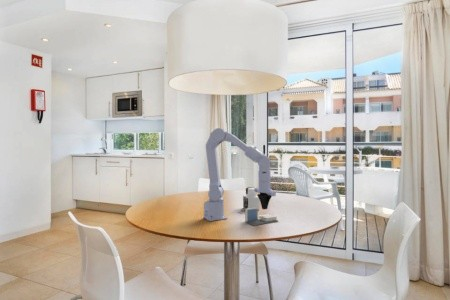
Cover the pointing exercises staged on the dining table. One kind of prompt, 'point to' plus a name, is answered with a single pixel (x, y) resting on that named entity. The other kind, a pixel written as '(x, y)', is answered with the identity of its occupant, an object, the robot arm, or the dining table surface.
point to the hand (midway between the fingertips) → (264, 208)
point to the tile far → (267, 217)
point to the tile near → (251, 214)
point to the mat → (260, 222)
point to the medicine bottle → (251, 199)
